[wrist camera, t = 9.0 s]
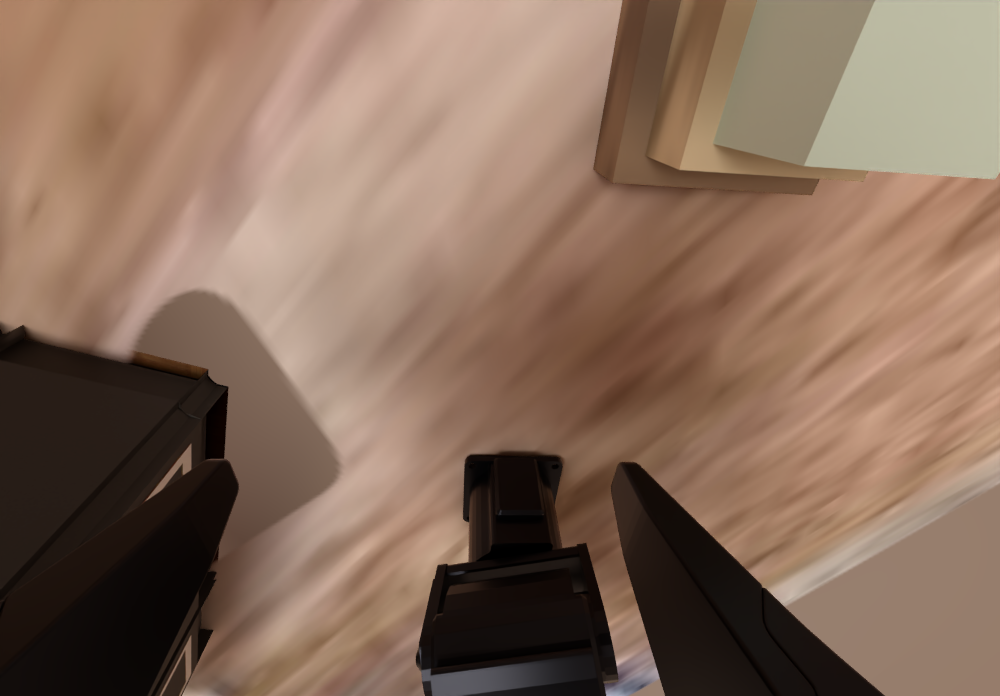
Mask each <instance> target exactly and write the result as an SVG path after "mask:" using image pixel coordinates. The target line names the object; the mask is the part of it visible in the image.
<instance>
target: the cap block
mask: <svg viewBox="0 0 1000 696" xmlns="http://www.w3.org/2000/svg"><path fill="white" fill-rule="evenodd" d="M713 144H716V145H720V146H724V147H728V148H732V149H736V150H740V151H744V152H748V153H752V154H756V155H760V156H764V157H768V158H773V159H777V160H781V161H785V162H789V163H793V164H797V165H801V166H808V167H823V168H837V169H852V170H867V171H881V172H896V173H911V174H925V175H940V176H955V177H969V178H984V179H996V177H997V176H998V174H999V173H1000V0H757V3H756V6H755V9H754V13H753V16H752V19H751V22H750V25H749V29H748V32H747V35H746V38H745V42H744V45H743V48H742V51H741V54H740V58H739V61H738V64H737V67H736V70H735V74H734V77H733V80H732V83H731V87H730V90H729V93H728V96H727V99H726V103H725V106H724V109H723V112H722V116H721V119H720V122H719V125H718V128H717V132H716V135H715V138H714V141H713Z"/></svg>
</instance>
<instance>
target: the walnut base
mask: <svg viewBox="0 0 1000 696" xmlns="http://www.w3.org/2000/svg"><path fill="white" fill-rule="evenodd" d="M680 4H681V0H623V2H622V8H621V13H620V19H619V25H618V31H617V36H616V42H615V48H614V54H613V59H612V65H611V71H610V77H609V82H608V88H607V94H606V100H605V105H604V111H603V117H602V123H601V128H600V134H599V140H598V145H597V151H596V157H595V163H594V168H593V169H594V170H595V171H596V172H598V173H599V174H601V175H602V176H603V177H605V178H606V179H608V180H609V181H610V182H612V183H621V184H637V185H653V186H670V187H686V188H702V189H719V190H735V191H751V192H768V193H784V194H800V195H813V192H814V190H815V188H816V186H817V184H818V181H819V179H813V178H797V177H782V176H766V175H751V174H735V173H720V172H704V171H689V170H678V169H676V168H673V167H671V166H669V165H666V164H664V163H661V162H659V161H657V160H654V159H652V158H649V157H647V156H645V154H646V149H647V145H648V141H649V137H650V132H651V128H652V124H653V119H654V115H655V111H656V106H657V102H658V98H659V94H660V89H661V85H662V81H663V76H664V72H665V68H666V64H667V59H668V55H669V51H670V46H671V42H672V38H673V34H674V29H675V25H676V21H677V16H678V12H679V8H680Z"/></svg>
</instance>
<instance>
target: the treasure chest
mask: <svg viewBox="0 0 1000 696" xmlns="http://www.w3.org/2000/svg"><path fill="white" fill-rule="evenodd" d="M24 336H25V330H24V326H23V325H22V326H20V327H18V328H16V329H15V330H13V331H11V332H9V333H7V334H2V332H1V330H0V601H2V600H5V599H6V597H7V596H8V595H10V594H11V593H13V592H14V591H16V590H17V589H19V588H20V587H21V586H23V585H24V584H26V583H27V582H29V581H30V580H32V579H33V578H35V577H36V576H37V575H39V574H40V573H42V572H43V571H45V570H46V569H48V568H49V567H50V566H52V565H53V564H55V563H56V562H58V561H59V560H61V559H62V558H64V557H65V556H66V555H68V554H69V553H71V552H72V551H74V550H75V549H77V548H78V547H80V546H81V545H82V544H84V543H85V542H87V541H88V540H90V539H91V538H93V537H94V536H96V535H97V534H98V533H100V532H101V531H103V530H104V529H106V528H107V527H109V526H110V525H112V524H113V523H114V522H116V521H117V520H119V519H120V518H122V517H123V516H125V515H126V514H128V513H129V512H130V511H132V510H133V509H135V508H136V507H138V506H139V505H141V504H142V503H143V502H145V501H146V500H148V499H149V498H151V497H152V496H154V495H155V494H157V493H158V492H159V491H161V490H162V489H164V488H165V487H167V486H168V485H170V484H171V483H173V482H174V481H175V480H177V479H178V478H180V477H181V476H183V475H184V474H186V473H187V472H189V471H190V470H191V469H193V468H194V467H196V466H197V465H199V464H200V463H202V462H203V461H205V460H208V459H224V455H225V439H226V438H225V437H226V422H227V404H228V389H229V387H228V386H224V385H220V384H217V383H215V382H214V381H213V380H212V379H211V378H210V377H209V376H208V371H209V370H208V369H206V368H202V367H198V366H194V365H190V364H186V363H181V362H178V361H174V360H170V359H166V358H161V357H158V356H154V355H150V354H146V353H142V352H138V351H134V350H132V351H131V355H130V356H129V359H128V362H127V363H122V362H118V361H113V360H109V359H105V358H101V357H97V356H93V355H89V354H84V353H80V352H76V351H72V350H68V349H64V348H60V347H56V346H51V345H47V344H43V343H39V342H35V341H31V340H27V339H24ZM218 556H219V547H218V549H217V552H216V554H215V557H214V560H213V562H212V564H213V563H215V562H216V561H218ZM215 575H216V572H209V571H208V573H207V575H206V577H205V579H204V581H203V583H202V585H201V587H200V589H199V591H198V593H197V596H196V598H195V600H194V602H193V604H192V606H191V608H190V610H189V612H188V614H187V616H186V618H185V620H184V622H183V625H182V627H181V629H180V631H179V633H178V635H177V637H176V639H175V641H174V643H173V645H172V647H171V649H170V651H169V653H168V656H167V658H166V660H165V662H164V664H163V666H162V668H161V670H160V672H159V674H158V676H157V678H156V680H155V682H154V685H153V687H152V689H151V691H150V693H149V695H148V696H182V694H183V692H184V690H185V688H186V686H187V684H188V682H189V680H190V678H191V675H192V673H193V671H194V669H195V667H196V665H197V663H198V661H199V659H200V657H201V655H202V653H203V651H204V649H205V646H206V644H207V642H208V640H209V638H210V636H211V634H212V632H213V630H206V629H201V608H202V606H203V604H204V602H205V600H206V598H207V597H208V595H209V593H210V591H211V589H212V587H213V585H214V583H215V581H216V580H214V579H213V578H214V577H215Z"/></svg>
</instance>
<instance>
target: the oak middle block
mask: <svg viewBox="0 0 1000 696" xmlns="http://www.w3.org/2000/svg"><path fill="white" fill-rule="evenodd" d="M756 3H757V0H681V4H680V8H679V12H678V16H677V21H676V25H675V29H674V34H673V38H672V42H671V46H670V51H669V55H668V59H667V64H666V68H665V72H664V76H663V81H662V85H661V89H660V94H659V98H658V102H657V106H656V111H655V115H654V119H653V124H652V128H651V132H650V137H649V141H648V145H647V149H646V154H645V156H647V157H649V158H652V159H654V160H657V161H659V162H661V163H664V164H666V165H669V166H671V167H673V168H676V169H678V170H689V171H704V172H720V173H735V174H751V175H766V176H782V177H797V178H813V179H828V180H844V181H859V182H863V181H864V179H865V177H866V175H867V173H868V171H867V170H852V169H837V168H823V167H808V166H801V165H797V164H793V163H789V162H785V161H781V160H777V159H773V158H768V157H764V156H760V155H756V154H752V153H748V152H744V151H740V150H736V149H732V148H728V147H724V146H720V145H716V144H713V141H714V138H715V135H716V132H717V128H718V125H719V122H720V119H721V116H722V112H723V109H724V106H725V103H726V99H727V96H728V93H729V90H730V87H731V83H732V80H733V77H734V74H735V70H736V67H737V64H738V61H739V58H740V54H741V51H742V48H743V45H744V42H745V38H746V35H747V32H748V29H749V25H750V22H751V19H752V16H753V13H754V9H755V6H756Z"/></svg>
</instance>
